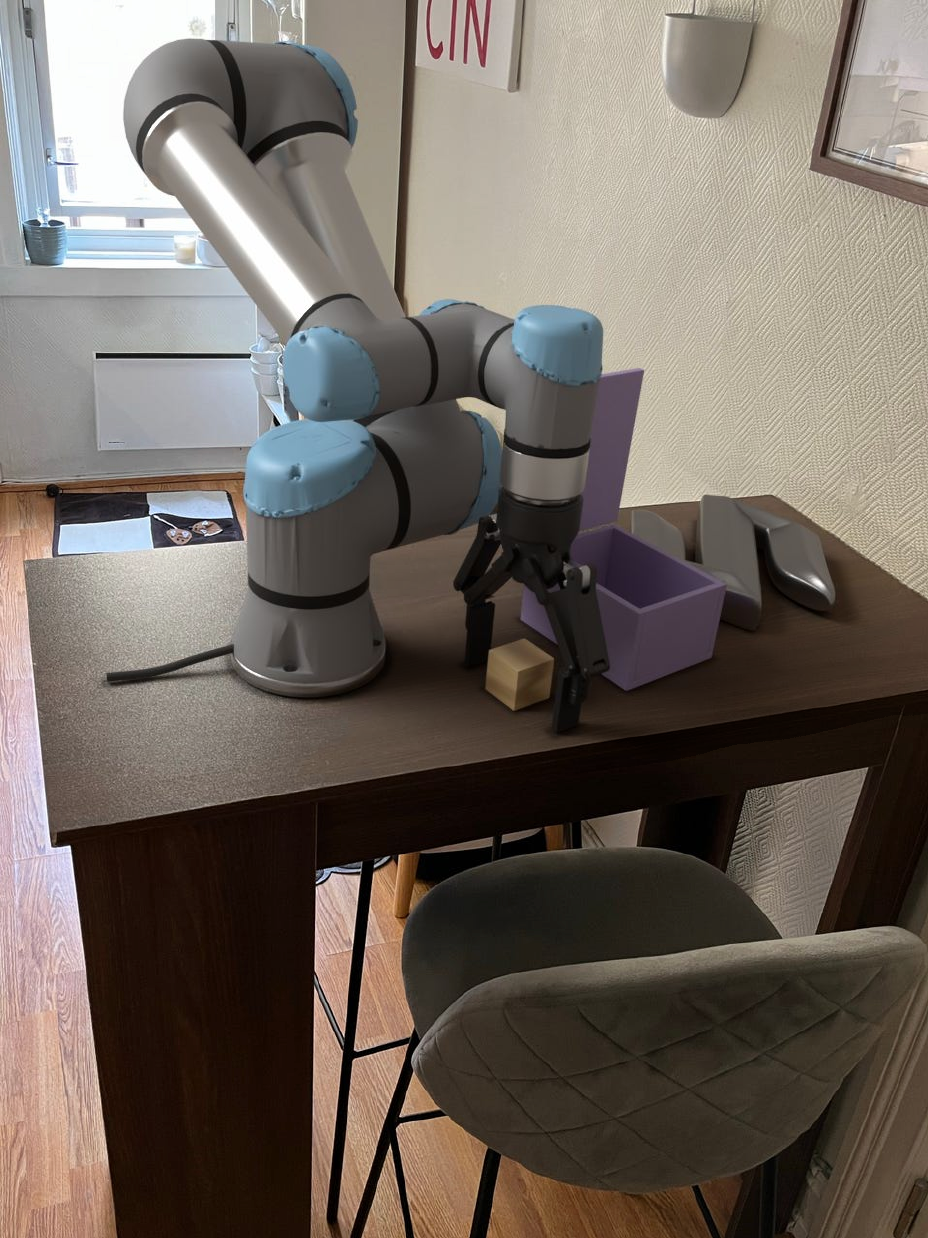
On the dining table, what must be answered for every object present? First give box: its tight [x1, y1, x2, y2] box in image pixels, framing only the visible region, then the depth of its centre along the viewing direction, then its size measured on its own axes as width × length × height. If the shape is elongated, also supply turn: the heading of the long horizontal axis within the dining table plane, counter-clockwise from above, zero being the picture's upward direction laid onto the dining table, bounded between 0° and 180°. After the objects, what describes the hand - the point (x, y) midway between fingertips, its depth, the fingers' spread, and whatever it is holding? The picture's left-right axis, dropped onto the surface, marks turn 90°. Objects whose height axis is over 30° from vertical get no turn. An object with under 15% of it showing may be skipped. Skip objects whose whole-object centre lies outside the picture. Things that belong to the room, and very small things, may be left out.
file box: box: [520, 523, 727, 692], centre depth 117 cm, size 17×13×9 cm
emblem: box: [629, 494, 836, 631], centre depth 134 cm, size 28×5×28 cm
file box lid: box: [579, 367, 645, 532], centre depth 117 cm, size 17×13×6 cm
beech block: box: [484, 638, 555, 712], centre depth 107 cm, size 4×4×4 cm
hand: (519, 693), depth 108 cm, fingers open, 13 cm apart
